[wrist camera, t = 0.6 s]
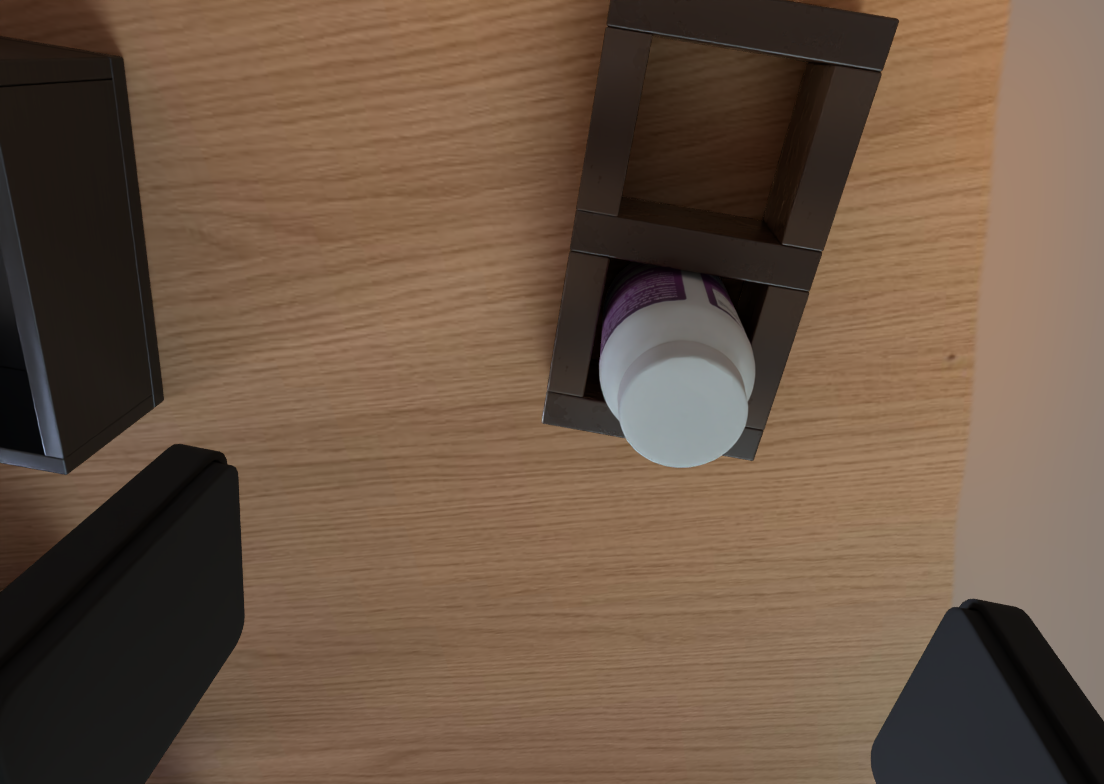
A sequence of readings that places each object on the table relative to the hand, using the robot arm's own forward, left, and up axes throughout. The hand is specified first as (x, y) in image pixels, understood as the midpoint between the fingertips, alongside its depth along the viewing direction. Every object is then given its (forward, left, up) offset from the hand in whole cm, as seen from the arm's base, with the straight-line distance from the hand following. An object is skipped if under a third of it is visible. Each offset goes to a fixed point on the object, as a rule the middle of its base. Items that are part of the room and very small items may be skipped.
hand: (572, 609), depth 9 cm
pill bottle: (+3, +3, -22) cm, 22 cm away
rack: (-1, +3, -22) cm, 22 cm away
